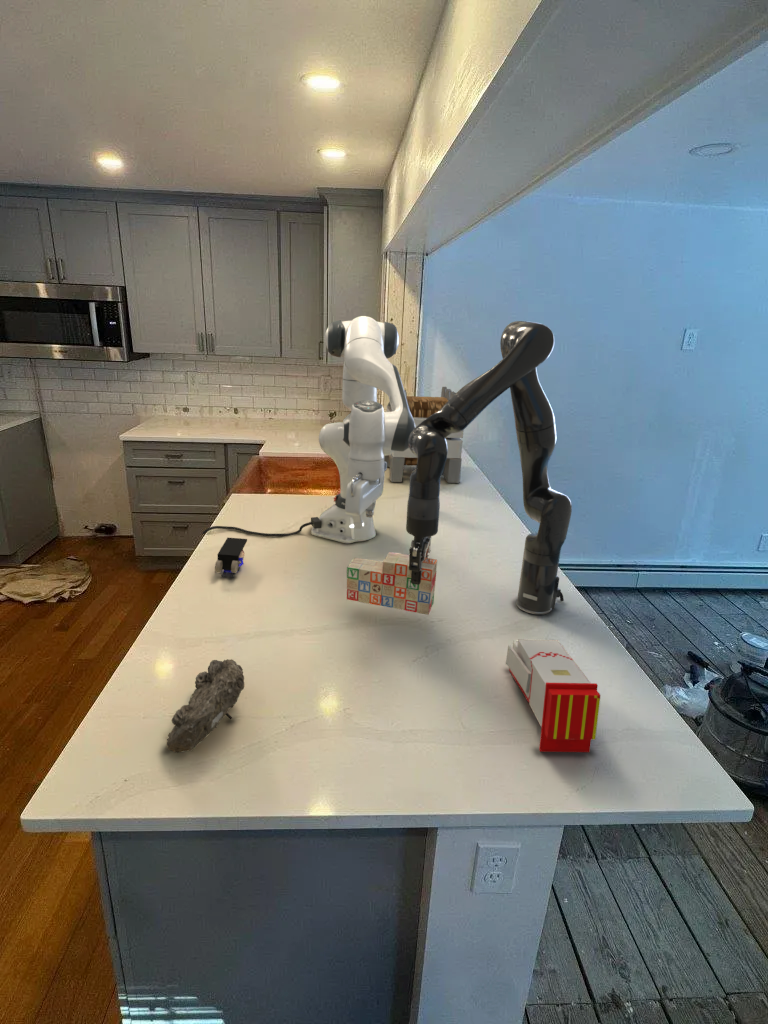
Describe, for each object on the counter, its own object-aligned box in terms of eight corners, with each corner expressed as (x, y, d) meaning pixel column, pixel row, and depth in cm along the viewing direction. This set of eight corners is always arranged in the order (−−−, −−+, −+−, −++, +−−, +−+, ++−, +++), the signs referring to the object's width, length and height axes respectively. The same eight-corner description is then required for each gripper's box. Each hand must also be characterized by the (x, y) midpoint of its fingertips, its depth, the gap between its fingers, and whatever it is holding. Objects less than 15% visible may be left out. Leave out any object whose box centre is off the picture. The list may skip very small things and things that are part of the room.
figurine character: (238, 584, 162) (249, 557, 175) (236, 562, 158) (247, 536, 172) (215, 584, 161) (227, 556, 175) (212, 561, 158) (225, 535, 171)
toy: (554, 622, 128) (610, 691, 98) (548, 677, 130) (601, 759, 101) (501, 621, 127) (541, 690, 98) (496, 676, 130) (534, 758, 101)
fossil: (192, 660, 117) (244, 628, 112) (224, 691, 120) (276, 661, 115) (142, 746, 98) (202, 712, 93) (182, 779, 101) (242, 748, 96)
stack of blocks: (345, 600, 142) (346, 555, 138) (353, 589, 148) (354, 546, 144) (429, 615, 137) (432, 569, 133) (434, 603, 143) (437, 558, 138)
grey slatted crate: (382, 463, 289) (386, 382, 275) (445, 464, 293) (451, 384, 279) (390, 482, 257) (394, 392, 243) (460, 483, 261) (468, 394, 247)
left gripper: (365, 480, 129) (363, 537, 133) (389, 461, 148) (386, 512, 152) (339, 477, 130) (338, 533, 135) (365, 459, 149) (364, 509, 153)
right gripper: (432, 525, 125) (427, 593, 131) (444, 505, 138) (439, 568, 144) (399, 521, 127) (396, 588, 132) (414, 501, 140) (410, 563, 146)
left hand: (364, 522), depth 143 cm, fingers open, 8 cm apart
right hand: (418, 577), depth 138 cm, fingers closed on stack of blocks, 6 cm apart
